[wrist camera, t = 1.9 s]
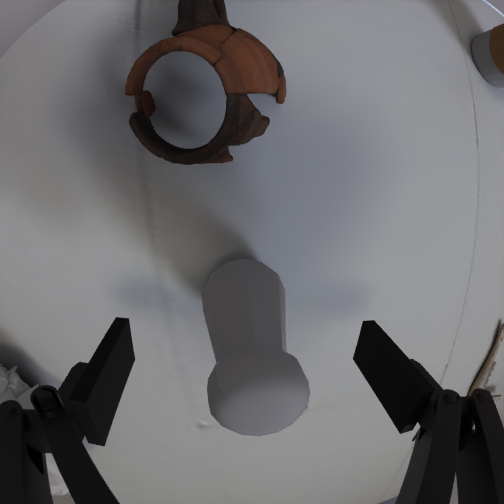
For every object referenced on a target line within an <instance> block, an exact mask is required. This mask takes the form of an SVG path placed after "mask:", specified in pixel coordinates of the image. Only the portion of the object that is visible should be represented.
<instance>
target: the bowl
mask: <svg viewBox="0 0 504 504" xmlns="http://www.w3.org/2000/svg"><path fill="white" fill-rule="evenodd" d="M1 365H2V364H0V404H1V403H3V402H4V401H7V400H15V401H17V402H19V403H20V405H21V406H22V408H23V409H34V407H33V405H32V403H31V401H30V395H31V393H32V391H33V390H35V389H36V388H38V387H39V384H38V385H36V386H34V387H32V388H31V387H29V386H28V385H27V383H25V382H23V381H22V380H21V379H20V377H19V375H18V374H17V373H15V370H16V368H17V367H18V366H15V367H13V368H12V369H11V370H10V371H8V370H7V369H6V368H4V367H2V366H1ZM45 454H46V463H47V470H48V477H49V483H50V489H51V495H54V496H62V495H64V494H66V493H68V492H69V490H68V488H67V486H66V484H65V482H64V480H63V478H62V476H61V474H60V472H59V470H58V467H57V465H56V463H55V460H54V458H53V456H52V453H45Z"/></svg>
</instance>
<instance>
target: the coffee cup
mask: <svg viewBox="0 0 504 504" xmlns="http://www.w3.org/2000/svg"><path fill="white" fill-rule="evenodd" d="M472 54H473V58H474V61H475V64H476V66H477V68H478V70H479V71H480V73H481V75H482V76H483V77H484V78H485V80H486V81H488V82H489V83H490V84H492V85H494V86H496V87H498V88H504V24H501V25H499V26H496V27H494V28H493V29H491V30H489V31H487V32H484V33H482V34H480V35H478V36H476V37H475V38H474V41H473V42H472Z"/></svg>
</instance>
